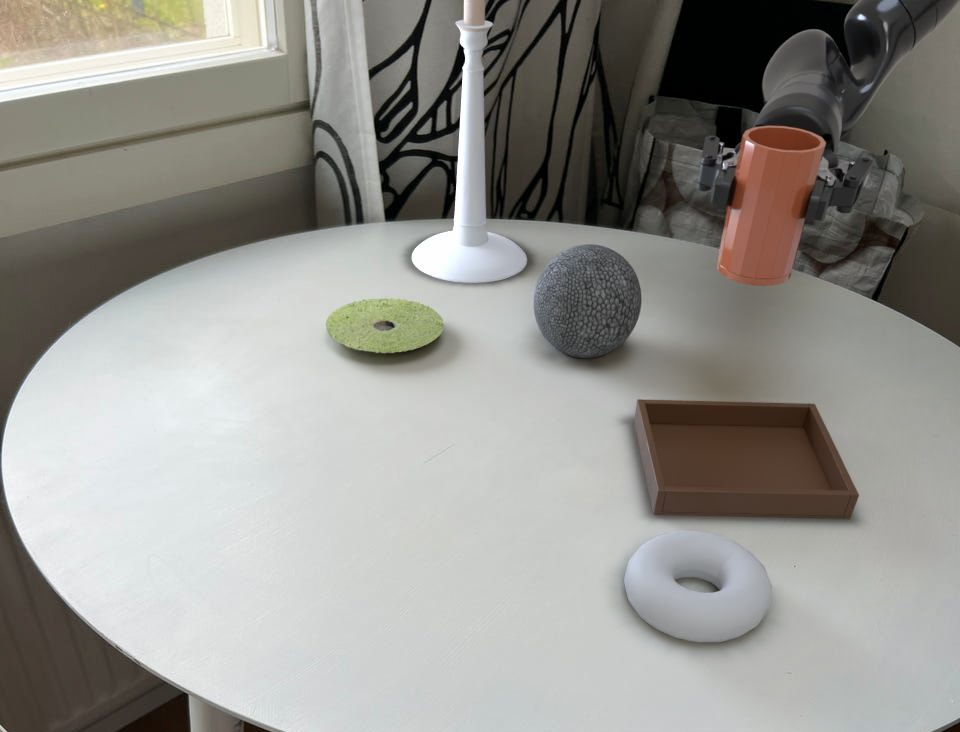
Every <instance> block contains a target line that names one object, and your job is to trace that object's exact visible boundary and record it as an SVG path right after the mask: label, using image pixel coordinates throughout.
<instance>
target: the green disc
mask: <svg viewBox="0 0 960 732" xmlns="http://www.w3.org/2000/svg"><path fill="white" fill-rule="evenodd" d="M325 329H326V332H327V333H328V335H329V336H330V337H331V338H332V339H333V340H334V341H336V342H337V343H339V344H341V345H342V346H344V347H346V348H351V349H352V350H356V351H363V352H372V353H376V354H387V353H388V354H395V353H401V352H407V351H413V350H417V349H418V348H422V347H423V346H427V345H429V344H430V343H432V342H433V341H435V340H436V339H438V337H440V336H441V335H442V333H443V331H444V319H443V318H442V316H441V315H440V313H438V311H436V310H434V309H433V308H432V307H430V306H429V305H424V304H423V303H420V302H417V301H413V300H407V299H400V298H391V297H390V298H370V299H369V298H368V299H362V300H357V301H353V302H350V303H348V304H345V305H343V306H341V307H339V308H337V309H335V310H334V311H333V312H332V313H331V314H330V315H329V316H328V318H327V319H326V322H325Z"/></svg>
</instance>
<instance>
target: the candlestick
mask: <svg viewBox="0 0 960 732" xmlns="http://www.w3.org/2000/svg"><path fill="white" fill-rule="evenodd" d="M485 18H486V0H463V19H460V20H457V21H455V23H454V24H455V25H456V26H457V28H458V29H459V31H460V38H459V44H460V45H461V47H463V53H464V57H465V59H464V63H463V66H462V68H461V69H462V85H461V98H460V99H461V102H460V116H459V118H460V119H459V135H458V136H459V137H458V152H457V169H456V187H455V188H456V189H455V203H454V205H455V206H454V218H453V228H452V230H449V231H444V232H441V233H437V234H435V235H432V236H430V237H428V238H427V239H425V240H424V241H422V242H421V243H420V244H418V245H417V246H416V247H415V249H414V250H413V252H412V253H411V261H412V263H413V265H414V266H415V267H416V268H417V269H418V270H419V271H421V272H422V273H424V274H426V275H428V276H430V277H433V278H436V279H439V280H443V281H448V282H453V283H454V282H455V283H465V284H482V283H492V282H498V281H502V280H504V279H508V278H511V277H513V276H515V275H517V274H519V273H520V272H521V271H523V270H524V269H525V267H526V266H527V263H528V258H527V255H526V253H525V251H524V250H523V249H522V248H521V247H520V246H519V245H518V244H516V243H515V242H514V241H512V240H510V239H509V238H507V237H505V236H503V235H500V234H497V233H494V232H490V231H488V228H487V222H488V220H487V203H486V202H487V199H486V146H485V145H486V144H485V93H484V91H485V89H484V86H485V84H484V70H485V67H484V66H483V61H482V57H483V53H484V49H485V48H486V47H487V46H488V42H489V41H488V32H489V30H490V29H491V28H492V27H493V26H494V23H493V22H492V21H489V20H486V19H485Z"/></svg>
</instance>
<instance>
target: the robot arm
mask: <svg viewBox="0 0 960 732" xmlns="http://www.w3.org/2000/svg"><path fill="white" fill-rule="evenodd" d="M959 3H960V0H858V1H857V2H856V3H855V4H854V5H853V6H852V7H851V9H850V10H849V11H848V13H847V14H846V16H845V18H844V22H843V36H844V41H845V44H846V45H845V46H846V48H847V53H848V56H849V63H850V66H849V64H848V62H847V61H846V60H845V58H844V56H843V54H842V53H841V51H840V49H839V47H838V46H837V44H836V42H835V41H834V39H833V38H832V37H831V35H829V34H828V33H826V32H825V31H824V30H821V29H815V28H812V29H805V30H802V31H800V32H797V33H796V34H794V35H792V36H791V37H789V38H788V39H787V40H785V42H783V43H782V44H781V45H780V46H779V47H778V48H777V49H776V51H775V52H774V54H773V55H772V57H770V60H769V61H768V63H767V65H766V67H765V70H764V72H763V76H762V81H761V92H762V99H763V105H764V106H763V107H762V109H761V110H760V112H759V114H758V116H757V118H756V119H755V122H754V123H753V125H752V127H751V128H754V127H761V126H786V127H792V128H798V129H802V130H806V131H809V132H812V133H815V134H816V135H818V136H820V137H822V138H823V139H824V141H825V142H826V145H825V149H824V153H823V157H822V161H821V164H820V168H819V172H818V176H817V180H816V183H815V186H814V189H813V192H812V195H811V198H810V202H809V206H808V210H807V213H806V217H805V221H804V226H805V225H806V226H810V227H813V226H814V223H815V221H820V222H822V221H823V220H825V219H826V215H827V212H828V210H829V208H830V207H835V211H837V212H838V213H841V214H850V213H852V211H854V209H855V208H856V205H857V204H858V202H859V201H860V199H861V198H862V196H863V195H864V193H865V190H866V186H867V183H868V180H869V177H870V174H871V171H872V167H873V164H874V160H873V159H871V158H870V157H867V156H866V157H865V156H864V157H859V158H857V160H856V161H853V160H850V161H849V163H848V165H847V164H841V163H840V162H839V161H840V160H839V158H838V156H837V155H836V154H837V152H838V151H839V144H840V141H841V140H842V139H843V138H844V137H846V136H847V134H849V133H850V132H851V130H852V129H854V127H855V125H856V124H857V123H858V122H859V120H860V119H861V117H862V116H863V115H864V112H865V111H866V110H867V109H868V106H869V105H870V104H871V102H872V101H873V99H874V97H875V95H876V94H877V92H878V91H879V89H880V88H881V86H882V85H883V84H884V82H885V81H886V79H887V78H888V77H889V75H891V73H892V72H893V70H894V69H895V68H896V67H897V66H898V64H899V63H900V62H901V61H902V60H903V59H904V58H905V57H906V56H908V55H909V54H910V53H911V52H912V51H913V50H914V49H915V48H916V47H917V46H918V45H919V44H921V42H923V41H924V40H925V39H926V38H927V37H928V36H929V35H930V34H931V33H932V32H934V31H935V30H936V29H937V28H938V27H939V26H940V25H941V24H942V23H943V22H944V21H945V20H946V19H947V18H948V17H949V16H950V15H951V13H952V12H953V11H954V9H956V7H957V6H958V5H959ZM740 147H741V142H739V143H738V144H737V145H735V148H730V147H725V143H724V142H722V141H721V140H720V138H719V136H716V135H713V134H712V135H707V136H705V137H704V142H703V147H702V153H701V159H700V163H699V169H698V175H697V180H696V186H695V189H696V190H698V191H701V192H708V191H711V190H712V191H711V195H710V200H709V201H710V203H711V204H714V205H716V211H718V212H726V213H727V210H728V206H729V201H730V197H731V192H732V187H733V182H734V177H735V171H736V166H737V161H738V157H739V152H740Z"/></svg>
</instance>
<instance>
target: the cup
mask: <svg viewBox="0 0 960 732" xmlns="http://www.w3.org/2000/svg"><path fill="white" fill-rule="evenodd" d="M740 143H741V147H740V152H739V157H738V161H737V166H736V171H735V177H734V182H733V187H732V192H731V197H730V201H729V206H728V208H727V210H726V216H725V220H724V225H723V230H722V233H721V234H722V235H721V240H720V245H719V248H718V253H717V254H718V255H717V262H716V269H717V271H718V272H719V274H721V275H722V276H723V277H724V278H726V279H728V280H731V281H733V282H737V283H740V284H744V285H749V286H756V287H768V286H769V287H770V286H777V285H781V284H784V283H785V282H788V280H790V278H791V276H792V272H793V269H794V267H795V263H796V259H797V255H798V251H799V248H800V244H801V243H800V242H801V240H802V235H803V232H804V228H805V225H804V221H805V217H806V213H807V210H808V206H809V202H810V198H811V195H812V192H813V189H814V186H815V183H816V180H817V176H818V172H819V168H820V164H821V161H822V157H823V153H824V149H825V145H826V142H825V141H824V139H823V138H822V137H820V136H818V135H816V134H815V133H812V132H809V131H806V130H802V129H798V128H792V127H786V126H761V127H754V128H752V127H751V128H749V129H746V130H745V131H744V133H743V134H742V138H741V142H740Z"/></svg>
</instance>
